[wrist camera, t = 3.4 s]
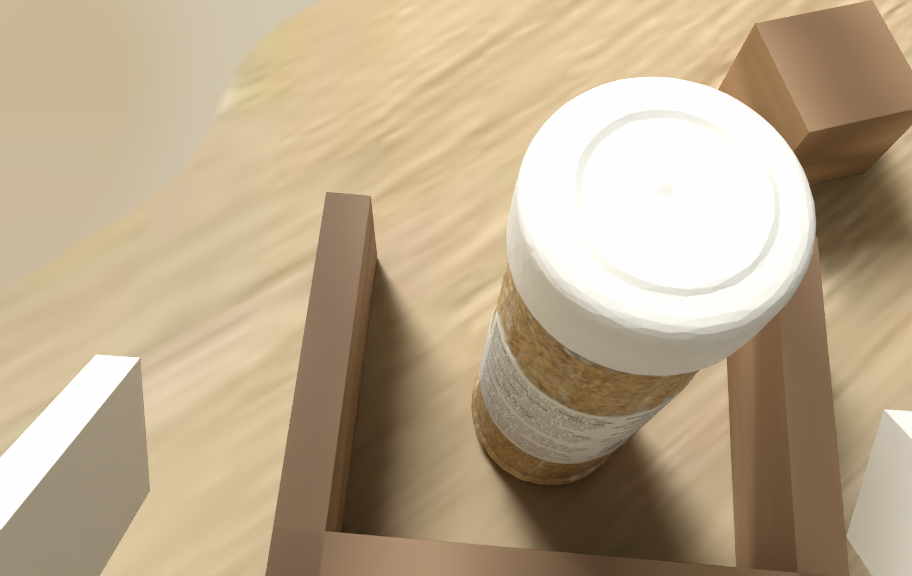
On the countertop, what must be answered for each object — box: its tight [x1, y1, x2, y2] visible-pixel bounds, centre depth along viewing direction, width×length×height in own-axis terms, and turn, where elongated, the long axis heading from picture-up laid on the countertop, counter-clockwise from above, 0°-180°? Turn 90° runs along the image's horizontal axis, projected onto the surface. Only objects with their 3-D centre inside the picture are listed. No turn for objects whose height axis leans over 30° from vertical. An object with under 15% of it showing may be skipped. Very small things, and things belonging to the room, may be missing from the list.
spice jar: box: [472, 77, 816, 485], centre depth 18 cm, size 5×5×14 cm
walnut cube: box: [718, 0, 912, 185], centre depth 27 cm, size 4×4×4 cm
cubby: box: [266, 192, 849, 576], centre depth 23 cm, size 13×10×4 cm
